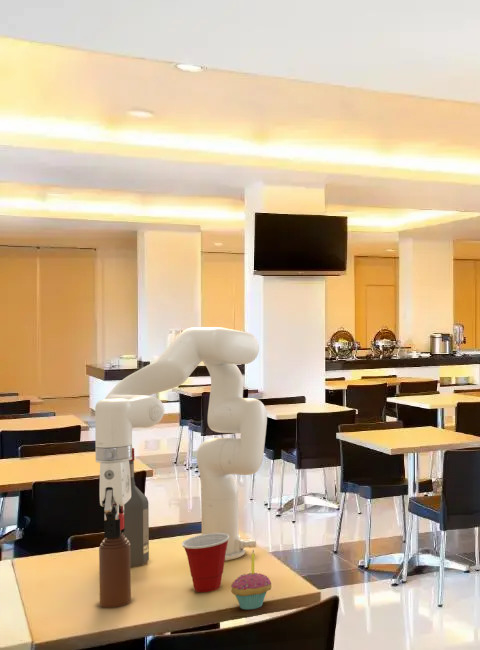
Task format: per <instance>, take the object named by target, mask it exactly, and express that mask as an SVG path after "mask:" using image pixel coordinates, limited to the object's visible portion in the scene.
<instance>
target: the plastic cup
mask: <svg viewBox="0 0 480 650" xmlns="http://www.w3.org/2000/svg"><path fill="white" fill-rule="evenodd" d="M229 538H230V536H229V534H225V533H209V534H203V535H202V534H199V535H195V536H192V537H188V538H186V539H185V540H183V541H182V542H181V546H182V548H183V549H184V551H185V554H186V556H187V562H188V566H189V572H190V576H191V579H192V586H193V589H194V591H195V592H196V593H209V592H213V591H214V592H215V591H217V590H219V589H220V588H221V585H222V579H223V574H224V567H225V562H226V561H225V554H226V550H227V543H228V539H229Z"/></svg>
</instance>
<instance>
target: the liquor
mask: <svg viewBox="0 0 480 650" xmlns="http://www.w3.org/2000/svg"><path fill="white" fill-rule="evenodd" d="M134 461H135V448H134V447H132V460H129V465H130V478H131V498H130V500H129V501H128V502H127V503H125V504H124V514H125V531H124V532H123V535H125V537H126V538H127V540H129V543H130V567H131V568H136V567H142V566H144V565H146V564H147V563H148V562H149V560H150V537H149V536H150V534H149V533H150V532H149V531H150V529H149V527H150V523H149V522H150V520H149V518H150V517H149V514H150V513H149V500H148V497H147V496H146V495H145V494H144V493H143V492H142V491H141V490H140V489H139V487H137V486H136V482H135V462H134Z"/></svg>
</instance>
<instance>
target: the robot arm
mask: <svg viewBox="0 0 480 650" xmlns="http://www.w3.org/2000/svg"><path fill="white" fill-rule="evenodd" d="M259 351H260V346H259V341H258V339H257V337H256V336H255V335H254V334H253V333H251V332H248V331H243V330H237V329H231V328H226V327H219V326H218V327H215V326H213V327H212V326H210V327H209V326H208V327H207V326H206V327H203V326H202V327H201V326H199V327H198V326H197V327H189V328H186V329H184V330H182V331H181V332H180V333H179V334H178V335H177V336H176V337H175V339H174V340H173V341H172V342H171V343H170V344H169V346H167V348H166V349H165V350H164V351H163V352H162V354H161V355H159V357H158V358H157V359H156V360H155V361H153V362H152V363H150V364H147V365H145V366H143V367H141V368H140V369H138V370H136V371H134V372H133V373H131V374H129V375H127V376H126V377H124V378H123V379H122V380H120V381H119V382H117V383H116V385H115V386H114V387H113V388H112V389H111V390H110V392H109V393H108V394H107V395H106V397H105V398H104V399H101V400H99V401H97V402H96V403H95V406H94V415H95V417H94V418H95V419H94V420H95V421H94V423H95V425H94V426H95V428H94V429H95V433H94V434H95V435H94V436H95V438H94V439H95V463H98V464H99V506H101V507H102V508H104V509H103V511H104V514H103V515H104V517H103V518H104V520H103V523H104V524H103V529H104V532H103V533H104V535H103V537H104V538H118V537H120V519H119V513H123V514H124V504H125V503H127V502H128V501H129V500H130V498H131V478H130V465H129V460H132V448H133V429H134V428H142V429H143V428H151V427H154V426H156V425H158V424H159V423H160V422H161V421H162V419H163V417H164V415H165V406H164V403H163V402H162V401H161V399H159V398H158V397H156V396H153V395H155V394H159V393H162V392H165V391H169V390H172V389H174V388H178V387H179V386H181V385H183V384H184V383H186V381H187V380H188V378H189V377H190V376H191V374H192V373H194V371H195V369H196V368H197V367H198V366H199V365H200V364H201V362H202V363H203V364H204V365H205V367H206V368H207V371H208V373H209V376H210V392H209V399H208V409H207V426H208V428H209V429H210V430H211V431H213V432H215V433H222V434H240V438H236V437H235V438H234V437H212V438H208V439H206V440H204V441H203V442H201V443H200V444H199V446H198V448H197V451H196V465H197V469H198V473H199V478H200V500H201V501H200V504H201V507H200V508H201V509H200V511H201V515H200V516H201V519H200V521H201V535H203V534H209V533H225V534H229V536H230V538H229V539H228V543H227V550H226V554H225V561H224V562H226V561H231V560H236V559H239V558H241V557H243V556H244V555H245V553H246V549H245V548H249V549H251V548H257V540H256V539H252V538H247V539H243V538H242V536H241V535H242V534H240V528H239V527H240V521H239V520H240V517H239V516H240V515H239V514H240V513H239V512H240V511H239V508H240V507H239V486H238V483H237V481H236V479H235V477H234V475H236V476H237V475H238V476H250V475H251V476H252V475H254V474H256V473H257V472H258V471H259V470H260V468H261V466H262V464H263V459H264V454H265V446H266V445H265V444H266V436H267V425H268V413H267V408H266V406H265V404H264V403H263V402H262V401H261V400H259V399H258V398H253V397H244V377H243V374H242V371H241V370H240V368H239V367H238V365H248V364H250V363H252V362H254V361H255V359H257V357H258V355H259ZM124 531H125V514H124V529H122V530H121V533H123V532H124Z"/></svg>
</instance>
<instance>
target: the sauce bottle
mask: <svg viewBox="0 0 480 650" xmlns="http://www.w3.org/2000/svg"><path fill="white" fill-rule="evenodd" d="M98 567H99V568H98V569H99V571H98V574H99V580H98V581H99V606H100V607H101V608H107V609H108V608H118V607H122V606H123V607H124V606H126V605H128V604H129V603H131V601H132V586H131V581H132V580H131V578H132V577H131V575H132V574H131V572H132V571H131V570H132V569H131V568H132V567H130V543H129V540H127V538H126V537H125V535H123V533H121V530H120V537H118V538H105V537H104V538H103V540H102V541H101V543H100V545H99V547H98Z"/></svg>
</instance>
